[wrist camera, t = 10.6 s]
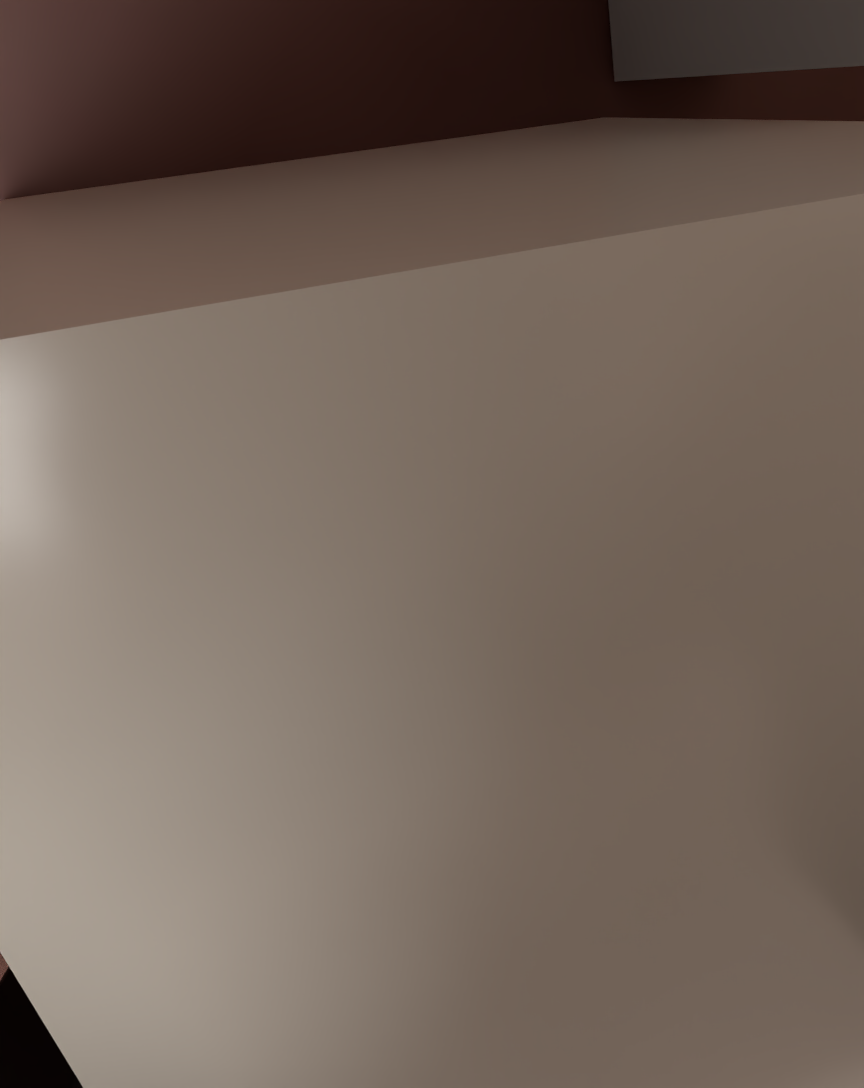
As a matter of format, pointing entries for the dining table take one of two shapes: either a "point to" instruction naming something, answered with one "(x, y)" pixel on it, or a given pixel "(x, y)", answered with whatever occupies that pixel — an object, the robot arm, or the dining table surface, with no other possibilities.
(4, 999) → the robot arm
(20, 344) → the block
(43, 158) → the dining table surface
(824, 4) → the holder
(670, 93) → the dining table surface
